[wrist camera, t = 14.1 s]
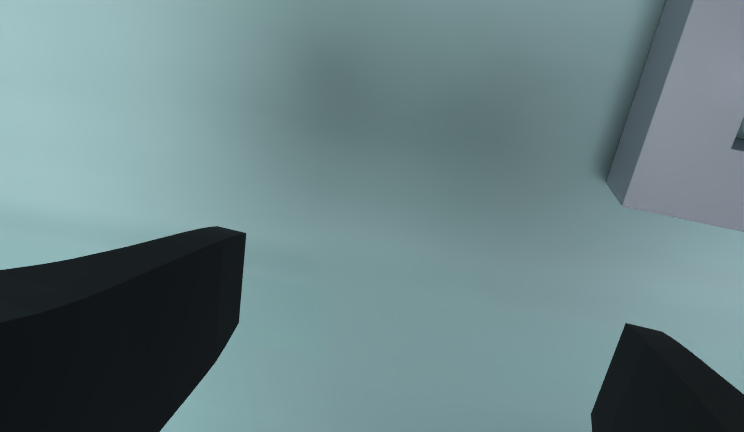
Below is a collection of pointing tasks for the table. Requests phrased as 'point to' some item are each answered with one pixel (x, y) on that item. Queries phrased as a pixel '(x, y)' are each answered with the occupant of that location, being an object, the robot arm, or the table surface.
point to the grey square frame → (688, 119)
